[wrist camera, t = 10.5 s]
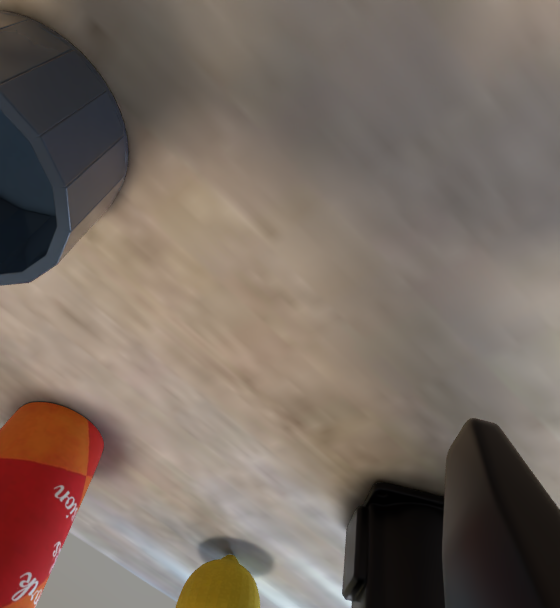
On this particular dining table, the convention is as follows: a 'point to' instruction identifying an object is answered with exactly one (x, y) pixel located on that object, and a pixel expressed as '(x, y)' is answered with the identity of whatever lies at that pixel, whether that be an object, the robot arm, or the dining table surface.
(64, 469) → the paper cup
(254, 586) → the lemon
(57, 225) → the ceramic cup
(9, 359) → the dining table surface
